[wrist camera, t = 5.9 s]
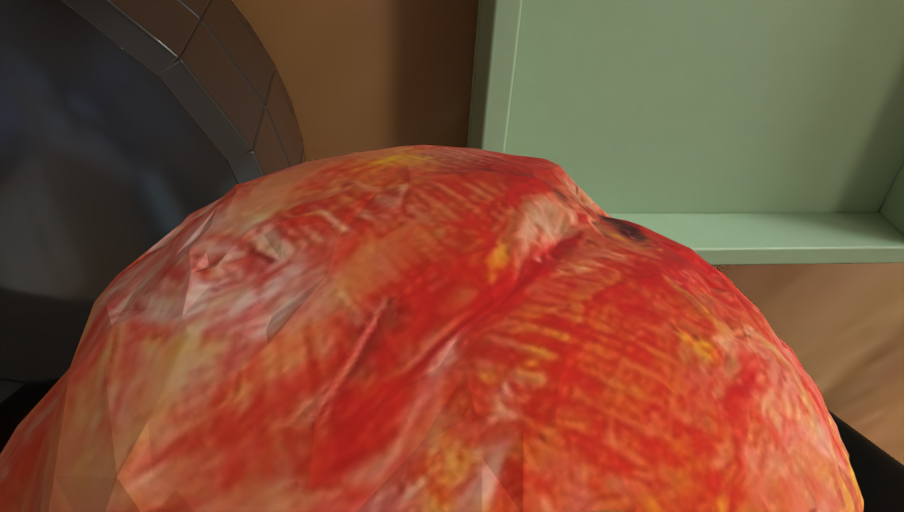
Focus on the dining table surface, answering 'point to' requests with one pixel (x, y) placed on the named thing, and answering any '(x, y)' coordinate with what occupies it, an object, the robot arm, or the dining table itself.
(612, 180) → the tray
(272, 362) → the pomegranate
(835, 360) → the dining table surface
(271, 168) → the pan
